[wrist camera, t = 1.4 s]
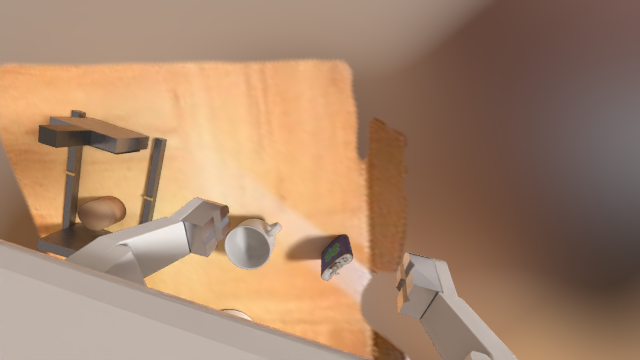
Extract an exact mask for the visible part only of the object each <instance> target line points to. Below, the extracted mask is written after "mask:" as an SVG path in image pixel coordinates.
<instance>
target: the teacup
mask: <svg viewBox="0 0 640 360" xmlns="http://www.w3.org/2000/svg"><path fill="white" fill-rule="evenodd" d="M280 230H281V225H280V224H279V223H278V222H277V223H274V224H271V225H269V224H268V223H266V222H265V221H263V220H260V219H248V220H245V221H243V222H242V223H240V224H239V225H238V226H237V227H235V228H234V229H233V230H231V231H230V232H229V233H228V235H227V237H226V239H225V244H224V247H225V252H226V255H227V257H228V258H229V260H230V261H231V262H232V263H233V264H234V265H236V266H237V267H239V268H242V269H246V270H253V269H258V268H260V267H262V266H263V265H264V264H265V263H266V262H267V261H268V260H269V257H270V255H271V253H272V250H273V248H274V245H275V234H277V233H278V232H279V231H280Z"/></svg>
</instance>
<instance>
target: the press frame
mask: <svg viewBox="0 0 640 360" xmlns="http://www.w3.org/2000/svg"><path fill="white" fill-rule="evenodd" d="M85 116H86V113H85V112H82V111H78V110H72V117H75V118H85ZM166 141H167V140H166V139H163V138H156V141H155V147H154V153H153V159H152V164H151V170H150V176H149V182H148V188H147V194H146V196H144V198H145V199H146V200H145V205H144V211H143V217H142V223H141V224H143V223H147V222H150V221H152V218H153V213H154V207H155V202H156V196H157V191H158V185H159V180H160V174H161V169H162V163H163V158H164V152H165V147H166ZM82 147H83V146H71V147H69V157H68V169H67V171H65V173H66V174H67V181H66V193H65V205H64V217H63V229H62V230H60V231H58V232H55V233H53V234H50V235H48V236H45V237H43V238H40V239H38V249H40V250H43V251H46V252H50V253H53V254H57V255H60V256H63V257H67V258H68V257H69V256H71V255H73V254H74V253H76V252H77V251H79V250H80V249H82V248H83V247H85V246H86V245H88V244H89V243H91V242H92V241H94V240H95V239H97V238H98V237H101V236H104V235H107V234H110V233H113V232H110V231H106V230H103V229H102V230H92V229H89V228H87V227H86V226H85V225H83V223H78V224H75V220H76V209H77V199H78V189H79V178H80V168H81V158H82Z"/></svg>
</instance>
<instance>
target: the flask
mask: <svg viewBox="0 0 640 360" xmlns="http://www.w3.org/2000/svg"><path fill="white" fill-rule="evenodd" d="M352 259H353V254H352V250H351V246H350V242H349V237H348V236H347V235H345V234H342V235H340V236H339V237H337V238H335V239H334V240H333V241H332V242H331V243H330V244H329V245H328V246H327V247H326V248H325V250H324V251H323V252H322V255H321V278H322V279H323V280H327V281H328V280H329V279H331V277H332V276H333V275H334V274H335V275H338V274H339V273H337V272H338V270H339V269H340V268H341V267H343V266H344V265H346V264H348V263H350V262H351V261H352Z"/></svg>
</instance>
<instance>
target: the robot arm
mask: <svg viewBox="0 0 640 360" xmlns="http://www.w3.org/2000/svg"><path fill="white" fill-rule="evenodd" d="M228 213H229V208H228V206H227V205H224V204H220V203H217V202H213V201H210V200H205V199H202V198H199V197H197V198H194V199H192V200H191V201H190V202H188V203H187V204H186V205H184V206H183V207H182V208H181V209H179V210H178V211H177V212H175V213H174V214H173V215H172V216H170V217H163V218H160V219H157V220H153V221H150V222H147V223H143V224H140V225H137V226H134V227H130V228H127V229H124V230H120V231H117V232H114V233H110V234H107V235H104V236H101V237H98V238H97V239H95V240H94V241H92V242H91V243H89V244H88V245H86V246H85V247H83V248H82V249H80V250H79V251H77V252H76V253H74V254H73V255H71V256H69V257H68V258H66V259H65V260H63V259H60V258H57V257H53V256H50V255H47V254H44V253H41V252H38V251H35V250H32V249H29V248H25V247H22V246H19V245H16V244H13V243H10V242H7V241H4V240H1V239H0V360H372V359H369V358H366V357H363V356H360V355H357V354H354V353H350V352H347V351H344V350H341V349H338V348H335V347H332V346H329V345H326V344H323V343H319V342H316V341H313V340H310V339H307V338H304V337H301V336H298V335H295V334H292V333H289V332H286V331H282V330H279V329H276V328H273V327H270V326H267V325H264V324H261V323H258V322H255V321H252V320H251V319H250V318H249V317H248V316H247V315H245V314H244V313H242V312H239V311H236V310H222V311H221V310H218V309H214V308H211V307H208V306H205V305H202V304H199V303H196V302H193V301H190V300H187V299H183V298H180V297H177V296H174V295H171V294H168V293H165V292H162V291H159V290H156V289H153V288H149V287H147V285H146V283H145V280H144V278H146V277H147V276H149V275H151V274H153V273H155V272H157V271H159V270H161V269H162V268H164V267H166V266H168V265H170V264H172V263H174V262H175V261H177V260H179V259H181V258H183V257H185V256H187V255H188V254H190V253H194V254H197V255H201V256H205V257H208V256H209V255H210V254H211V253H212V252H213V251H214V249H215V248H216V247H217V242H218V241H220V240H222V239H224V237H225V236H226V235H227V233H228V231H229V228H230V219H229V218H228V217H227V214H228ZM403 262H404V264H402V265H400V266H399V269H398V271H397V276H396V288H397V290H398V291H399V292H400V293H399V295H398V297H397V304H398V313H399V314H402V315H406V316H409V317H412V318H415V319H418V320H420V322H421V324H422V326H423V328H424V329H425V331H426V333H427V334H428V336H429V338H430V340H431V341H432V343H433V345H434V346H435V348H436V350H437V352H438V353H439V355H440V357H441V358H442V360H518V359H517V358H516V357H515V355H514V354H513V353H512V352H511V351H510V350H509V349H508V348H507V347H506V346H505V345H504V344H503V342H502V341H501V340H500V339H499V338H498V337H497V336H496V335H495V334H494V333H493V332H492V330H491V329H490V328H489V327H488V326H487V325H486V324H485V323H484V322H483V321H482V320H481V319H480V318H479V316H478V315H477V314H476V313H475V312H474V311H473V310H472V309H471V308H470V307H469V306H468V305H467V303H466V302H465V301H464V300H463V299H461V298H458V296H457V293H456V290H455V287H454V284H453V281H452V278H451V275H450V272H449V269H448V266H447V263H446V262H445V261H441V260H437V259H433V258H428V257H424V256H420V255H416V254H412V253H408V252H407V253H406V254H405V255H404V258H403Z"/></svg>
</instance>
